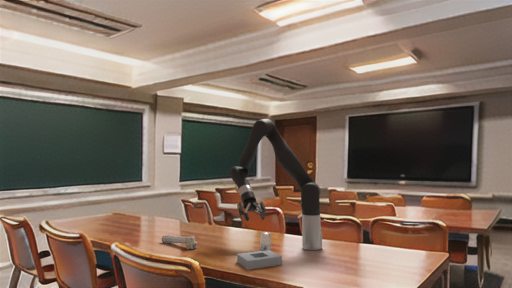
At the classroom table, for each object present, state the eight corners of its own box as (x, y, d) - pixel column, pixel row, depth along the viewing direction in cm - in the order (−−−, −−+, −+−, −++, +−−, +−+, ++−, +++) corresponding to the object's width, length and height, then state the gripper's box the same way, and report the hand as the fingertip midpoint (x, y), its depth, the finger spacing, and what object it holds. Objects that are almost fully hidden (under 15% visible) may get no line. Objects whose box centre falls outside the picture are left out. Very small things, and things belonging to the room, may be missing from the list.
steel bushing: (268, 252, 173) (267, 231, 173) (272, 254, 168) (272, 233, 169) (258, 253, 171) (258, 232, 171) (263, 256, 166) (263, 234, 167)
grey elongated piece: (168, 234, 198) (198, 233, 182) (169, 246, 197) (199, 247, 181) (160, 235, 194) (190, 235, 178) (161, 248, 193) (191, 249, 177)
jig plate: (269, 257, 164) (269, 249, 164) (281, 264, 153) (281, 256, 153) (237, 261, 157) (237, 253, 157) (247, 269, 146) (247, 261, 146)
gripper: (236, 191, 186) (244, 216, 175) (261, 190, 192) (270, 214, 181) (233, 200, 191) (241, 225, 180) (257, 198, 197) (266, 223, 186)
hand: (255, 219), depth 181 cm, fingers open, 8 cm apart
